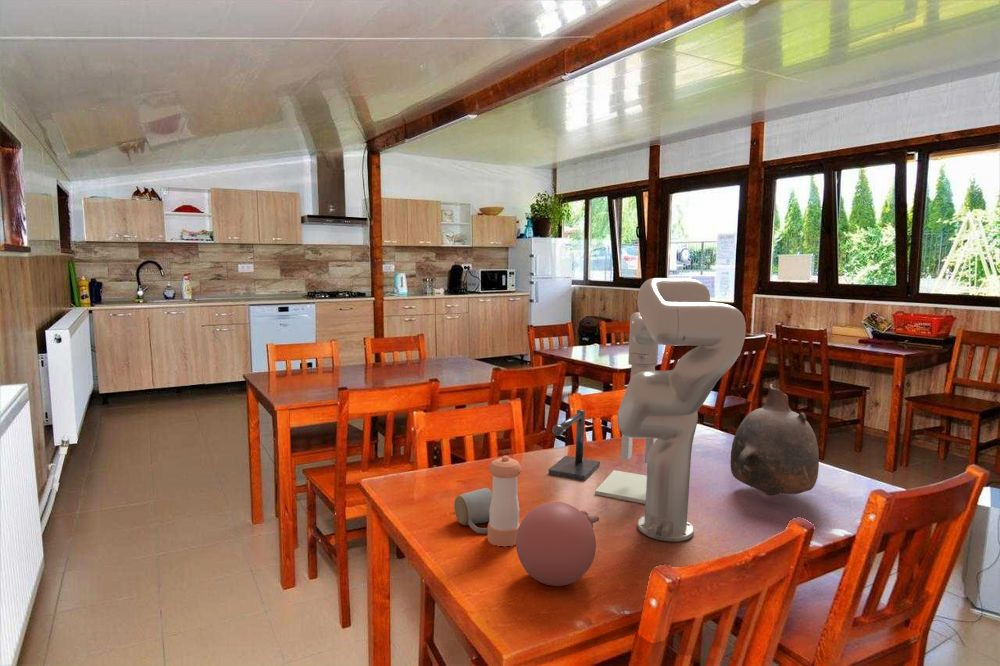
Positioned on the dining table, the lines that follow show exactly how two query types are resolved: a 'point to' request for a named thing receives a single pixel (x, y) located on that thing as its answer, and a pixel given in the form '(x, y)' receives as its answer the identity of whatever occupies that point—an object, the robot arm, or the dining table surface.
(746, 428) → the jug
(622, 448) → the stepped metal block
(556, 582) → the balloon
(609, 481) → the mat
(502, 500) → the salt shaker
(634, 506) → the dining table surface
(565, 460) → the stand
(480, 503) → the ceramic mug
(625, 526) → the dining table surface
